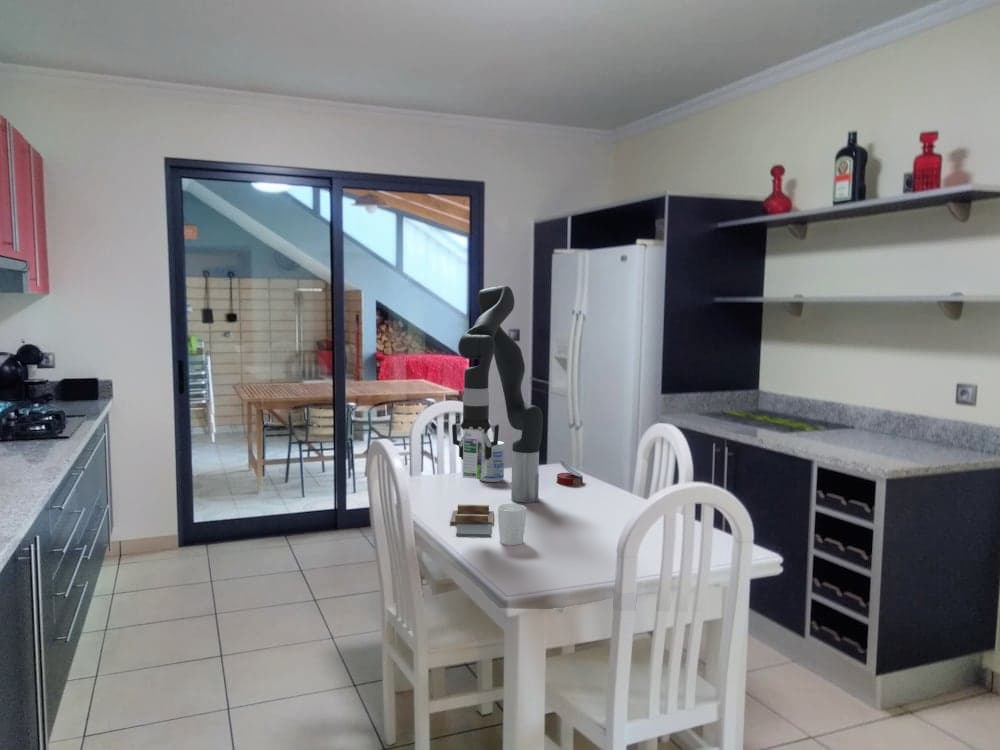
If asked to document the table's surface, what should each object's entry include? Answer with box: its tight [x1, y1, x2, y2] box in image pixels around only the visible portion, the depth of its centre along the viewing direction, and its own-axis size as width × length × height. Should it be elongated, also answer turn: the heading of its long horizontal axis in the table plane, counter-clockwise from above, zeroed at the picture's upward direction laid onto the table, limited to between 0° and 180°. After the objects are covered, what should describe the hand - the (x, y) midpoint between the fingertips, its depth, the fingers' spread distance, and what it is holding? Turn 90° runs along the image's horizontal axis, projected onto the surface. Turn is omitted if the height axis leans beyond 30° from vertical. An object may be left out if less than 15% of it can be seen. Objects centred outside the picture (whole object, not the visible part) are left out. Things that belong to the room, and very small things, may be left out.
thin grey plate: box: [455, 523, 492, 538], centre depth 215 cm, size 10×10×1 cm
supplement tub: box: [479, 440, 505, 483], centre depth 280 cm, size 10×10×15 cm
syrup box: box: [462, 429, 489, 480], centre depth 213 cm, size 6×6×14 cm
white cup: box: [497, 503, 527, 546], centre depth 206 cm, size 8×8×10 cm
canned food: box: [556, 460, 584, 487], centre depth 278 cm, size 11×10×10 cm
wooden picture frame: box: [449, 503, 495, 527], centre depth 227 cm, size 13×12×3 cm
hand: (475, 458), depth 214 cm, fingers closed on syrup box, 7 cm apart
